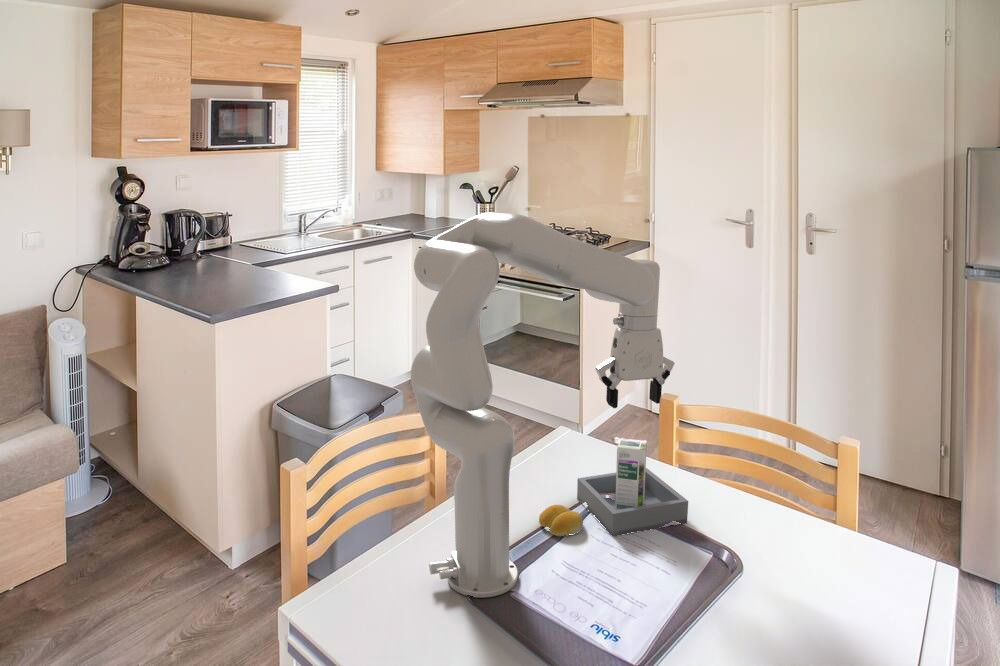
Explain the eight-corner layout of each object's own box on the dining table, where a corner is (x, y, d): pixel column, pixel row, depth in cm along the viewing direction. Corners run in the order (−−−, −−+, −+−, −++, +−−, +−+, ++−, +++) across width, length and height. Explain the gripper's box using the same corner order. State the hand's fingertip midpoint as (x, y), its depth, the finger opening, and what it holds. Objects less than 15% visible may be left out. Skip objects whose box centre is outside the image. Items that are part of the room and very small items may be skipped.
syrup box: (614, 511, 149) (616, 446, 145) (617, 498, 154) (620, 436, 151) (641, 515, 147) (644, 449, 144) (644, 502, 153) (647, 439, 149)
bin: (612, 536, 141) (613, 513, 140) (577, 499, 156) (577, 478, 155) (686, 523, 146) (688, 501, 145) (645, 488, 162) (646, 467, 160)
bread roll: (564, 542, 139) (564, 524, 138) (532, 526, 146) (532, 508, 145) (592, 528, 144) (592, 510, 143) (560, 512, 151) (560, 495, 150)
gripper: (606, 329, 135) (603, 414, 139) (685, 323, 141) (680, 405, 144) (590, 321, 142) (587, 402, 146) (665, 316, 148) (661, 394, 151)
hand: (633, 403), depth 145 cm, fingers open, 9 cm apart
